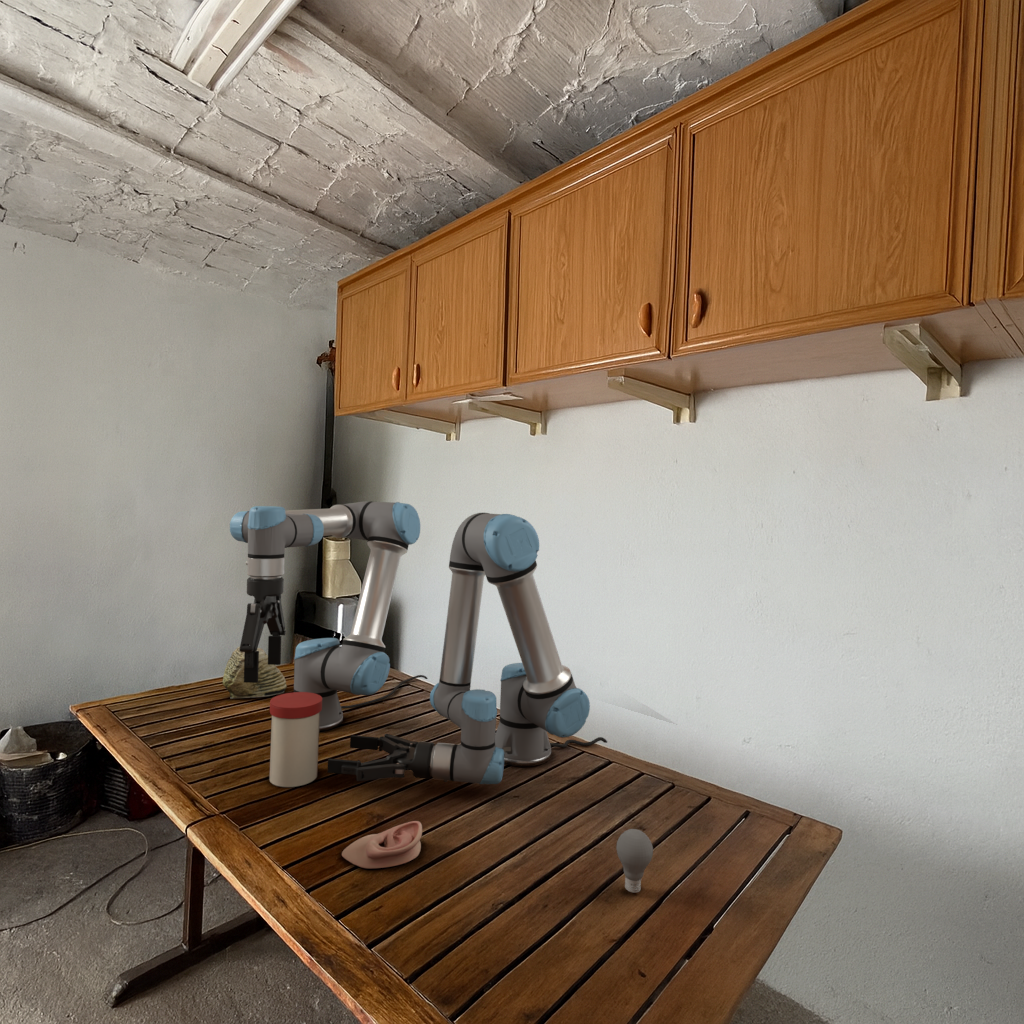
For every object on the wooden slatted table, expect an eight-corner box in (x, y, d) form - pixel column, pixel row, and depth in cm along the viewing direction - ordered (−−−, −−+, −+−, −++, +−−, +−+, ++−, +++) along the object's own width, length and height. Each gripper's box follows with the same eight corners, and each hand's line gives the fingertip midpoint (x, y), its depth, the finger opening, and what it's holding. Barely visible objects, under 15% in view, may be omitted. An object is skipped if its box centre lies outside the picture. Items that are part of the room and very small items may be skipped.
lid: (264, 719, 136) (265, 708, 136) (275, 702, 147) (275, 692, 147) (318, 718, 138) (319, 707, 138) (324, 702, 149) (325, 691, 149)
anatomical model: (334, 840, 110) (362, 809, 121) (333, 863, 110) (362, 830, 121) (406, 852, 107) (429, 819, 118) (405, 875, 107) (428, 840, 118)
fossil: (218, 695, 195) (220, 647, 195) (278, 685, 208) (279, 640, 207) (228, 703, 189) (230, 653, 188) (289, 692, 201) (290, 645, 201)
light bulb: (610, 879, 108) (613, 822, 108) (644, 879, 109) (647, 822, 109) (619, 902, 102) (622, 840, 102) (655, 901, 103) (658, 840, 103)
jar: (264, 787, 137) (267, 709, 136) (274, 767, 147) (276, 694, 146) (314, 786, 138) (317, 708, 138) (320, 766, 149) (322, 694, 148)
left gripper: (269, 569, 151) (266, 657, 152) (223, 584, 126) (221, 690, 127) (300, 570, 151) (298, 658, 152) (261, 585, 126) (258, 691, 127)
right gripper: (419, 804, 127) (316, 795, 129) (444, 755, 152) (358, 748, 154) (420, 767, 127) (318, 758, 129) (445, 724, 151) (359, 717, 154)
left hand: (263, 672), depth 139 cm, fingers open, 13 cm apart
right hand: (339, 752), depth 141 cm, fingers open, 13 cm apart
